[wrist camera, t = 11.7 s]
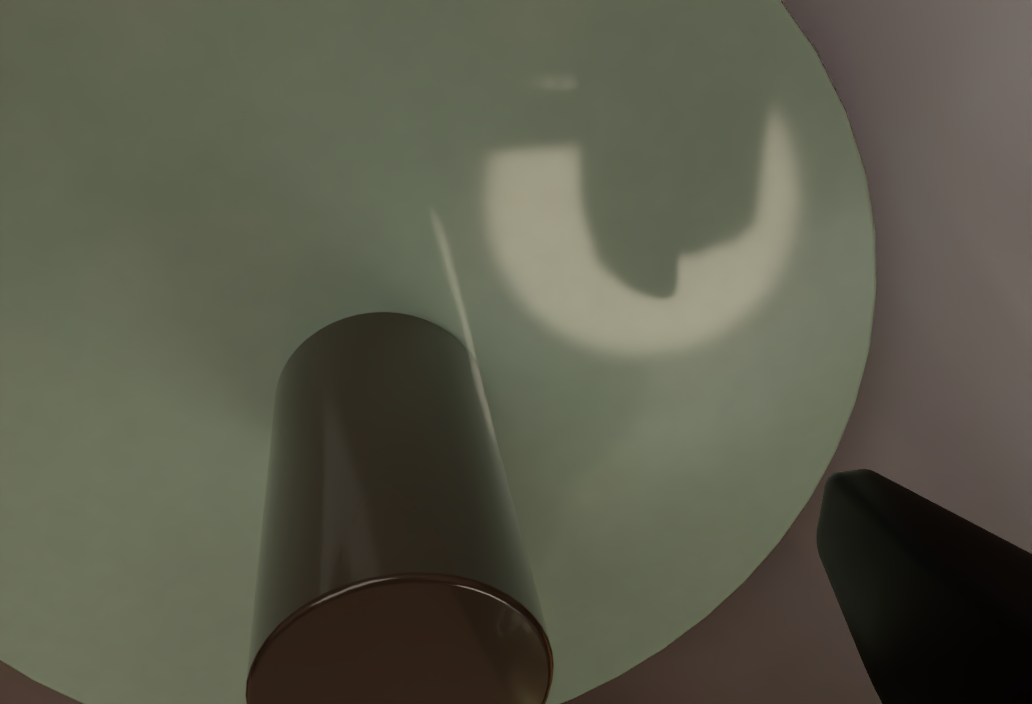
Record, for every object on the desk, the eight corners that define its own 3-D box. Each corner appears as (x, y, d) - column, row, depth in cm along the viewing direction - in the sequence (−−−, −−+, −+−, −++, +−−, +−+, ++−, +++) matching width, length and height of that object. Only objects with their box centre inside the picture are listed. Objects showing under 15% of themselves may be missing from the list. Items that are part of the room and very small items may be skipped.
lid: (924, -218, 10) (1443, -242, 6) (780, 636, 17) (958, 968, 12) (-414, -190, 9) (-1372, -186, 4) (6, 751, 15) (-148, 1191, 10)
